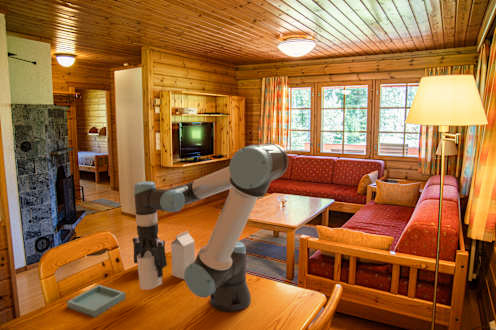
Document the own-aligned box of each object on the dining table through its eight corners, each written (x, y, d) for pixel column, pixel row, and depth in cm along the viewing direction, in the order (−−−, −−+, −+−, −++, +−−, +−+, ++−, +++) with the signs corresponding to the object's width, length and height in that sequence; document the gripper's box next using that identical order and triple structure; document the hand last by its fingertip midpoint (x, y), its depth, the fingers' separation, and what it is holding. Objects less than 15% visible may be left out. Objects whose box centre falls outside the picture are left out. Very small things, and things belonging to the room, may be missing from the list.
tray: (125, 298, 133) (124, 292, 132) (94, 317, 120) (94, 311, 120) (99, 290, 139) (98, 284, 138) (67, 307, 126) (67, 301, 126)
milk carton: (195, 273, 153) (194, 232, 150) (184, 280, 147) (183, 237, 145) (183, 269, 157) (182, 229, 154) (172, 276, 151) (170, 234, 148)
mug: (153, 290, 126) (150, 258, 124) (135, 289, 127) (133, 258, 125) (164, 278, 135) (162, 248, 134) (148, 277, 137) (146, 248, 135)
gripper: (174, 223, 127) (178, 283, 130) (134, 218, 136) (139, 274, 139) (161, 229, 120) (165, 292, 123) (120, 223, 129) (124, 282, 132)
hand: (151, 282), depth 131 cm, fingers closed on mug, 6 cm apart
